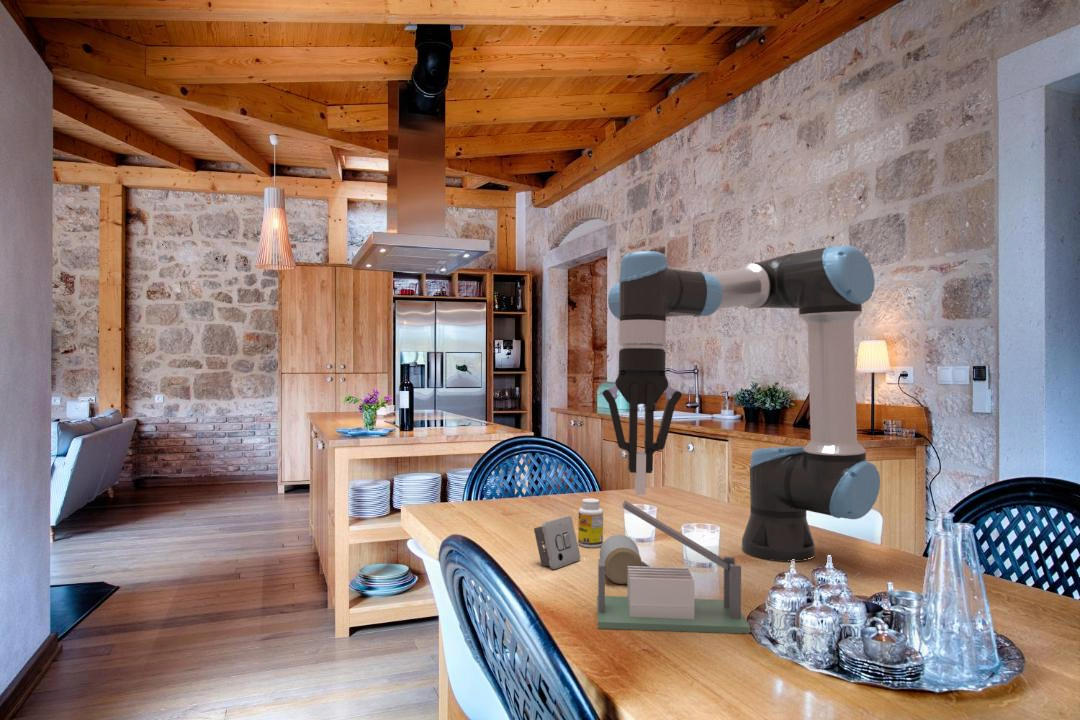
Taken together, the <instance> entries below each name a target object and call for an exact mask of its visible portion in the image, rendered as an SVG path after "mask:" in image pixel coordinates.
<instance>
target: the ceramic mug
mask: <svg viewBox="0 0 1080 720" xmlns="http://www.w3.org/2000/svg"><path fill="white" fill-rule="evenodd" d="M599 548H600V549H599V559H604V560H605V576H607V578H608V579H609V580H610V581H611V582H613V583H615V584H617V585H628V566H642V567H651V566H650V565H649V564H647V563H646V562H645V561H642V557H641V555H640V551H639V548H638V546H637V544H636V542H635V541H634V540H633V538H630V537H628V536H627V535H623V534H613V535H610V536H609V537H607V538H606V539H605V540H603V544H602V545H601V546H600V547H599Z"/></svg>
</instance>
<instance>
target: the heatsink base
mask: <svg viewBox="0 0 1080 720" xmlns="http://www.w3.org/2000/svg"><path fill="white" fill-rule="evenodd" d="M723 559H724V560H726V561H727V562H729V561H732V562H734V564H735V565H730V574H729V572H728V571H727V570H726V569H724V568H723V599H715V598H714V599H713V598H712V599H708V598H695V579H694V577H693V576H692V573H691V571H690V568H689V567H678V566H677V567H676V566H675V567H674V566H672V567H670V566H668V567H667V566H650V567H642V566H628V584H627V592H626V593H627V594H626V596H624V595H623V596H620V595H619V596H618V595H606V574H605V560H604V559H600V558H598V561H597V563H598V566H597V567H598V568H597V571H598V572H597V573H598V574H597V575H598V578H597V579H598V580H597V581H598V582H597V584H598V586H597V587H598V589H597V596H596V598H597V599H596V604H597V605H596V606H597V607H596V608H597V609H596V610H597V629H600V630H601V629H604V630H606V629H607V630H629V629H630V630H632V631H633V630H634V631H635V630H636V631H658V632H660V631H661V632H667V631H668V632H684V631H685V632H689V633H692V632H693V633H714V634H716V633H718V634H720V633H721V634H742V633H745V634H746V635H747V634H748V635H749V629H750V628H751V626H750V624H749V623H748V621H747V619H746V617H745V616H744V614H743V613H742V566H741V564H736V560H735V559H736V558H735V556H723ZM630 630H629V631H630Z"/></svg>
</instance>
